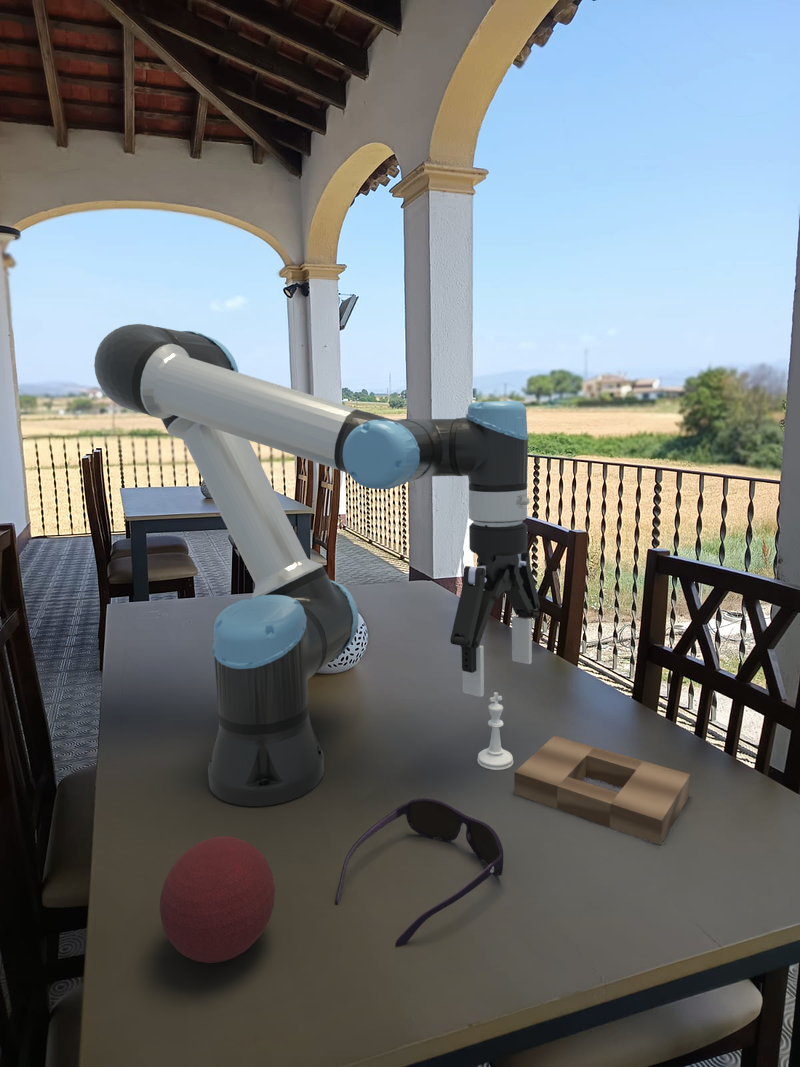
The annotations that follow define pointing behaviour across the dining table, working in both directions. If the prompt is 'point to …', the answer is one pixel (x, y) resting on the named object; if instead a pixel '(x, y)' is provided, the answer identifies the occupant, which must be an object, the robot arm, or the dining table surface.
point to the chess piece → (495, 741)
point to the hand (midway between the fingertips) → (498, 677)
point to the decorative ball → (217, 899)
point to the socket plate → (634, 810)
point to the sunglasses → (444, 825)
